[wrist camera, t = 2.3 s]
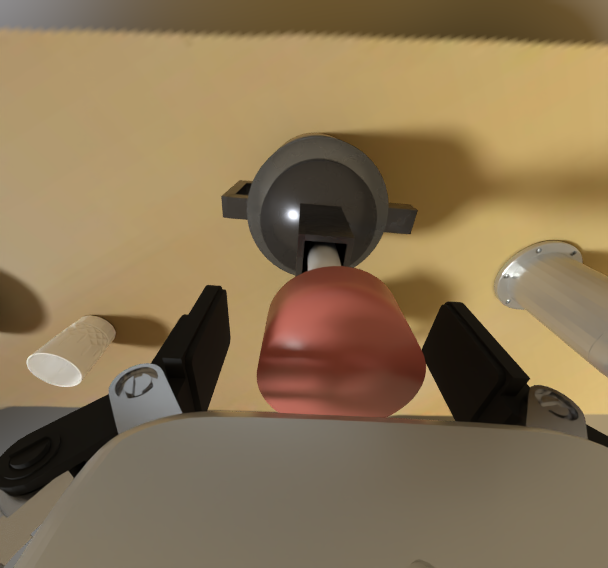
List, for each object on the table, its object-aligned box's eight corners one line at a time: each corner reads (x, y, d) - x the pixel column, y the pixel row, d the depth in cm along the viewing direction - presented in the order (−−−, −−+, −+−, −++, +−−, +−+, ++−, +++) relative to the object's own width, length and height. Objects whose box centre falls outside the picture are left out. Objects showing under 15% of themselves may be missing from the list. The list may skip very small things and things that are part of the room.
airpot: (393, 140, 33) (523, 162, 13) (371, 236, 40) (436, 345, 20) (246, 126, 32) (156, 128, 13) (249, 227, 39) (193, 330, 19)
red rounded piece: (371, 214, 16) (452, 322, 7) (355, 288, 19) (399, 431, 10) (282, 206, 16) (255, 309, 7) (279, 283, 19) (257, 424, 10)
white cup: (67, 311, 47) (15, 352, 39) (111, 312, 48) (69, 353, 39) (85, 343, 52) (41, 386, 43) (125, 344, 52) (89, 387, 43)
